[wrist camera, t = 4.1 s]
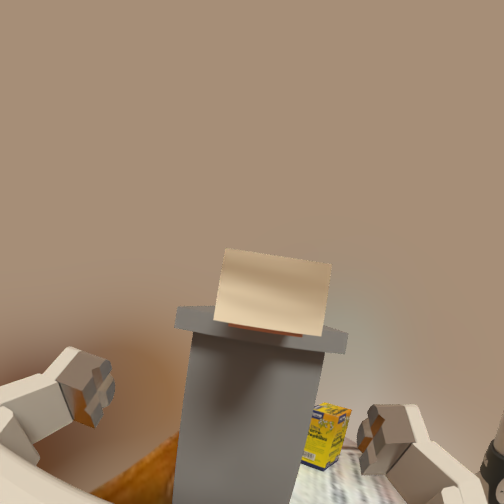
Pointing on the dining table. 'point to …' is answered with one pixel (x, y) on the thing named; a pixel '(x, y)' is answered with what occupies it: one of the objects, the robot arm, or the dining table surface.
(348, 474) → the dining table surface
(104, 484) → the dining table surface
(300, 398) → the charcoal stand
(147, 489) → the dining table surface
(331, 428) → the supplement box
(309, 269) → the birch bar
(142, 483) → the dining table surface
